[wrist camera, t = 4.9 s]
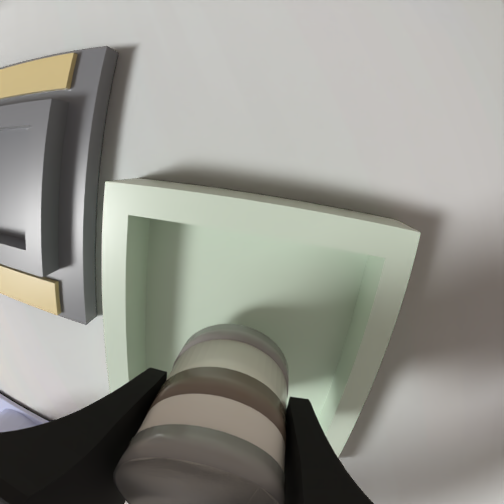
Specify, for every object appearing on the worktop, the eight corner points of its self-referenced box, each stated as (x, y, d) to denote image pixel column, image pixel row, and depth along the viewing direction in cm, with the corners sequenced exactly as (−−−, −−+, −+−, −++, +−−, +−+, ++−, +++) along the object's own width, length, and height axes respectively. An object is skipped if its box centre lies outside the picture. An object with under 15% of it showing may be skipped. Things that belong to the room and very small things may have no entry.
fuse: (283, 415, 12) (275, 545, 6) (183, 404, 12) (133, 520, 6) (293, 328, 11) (295, 471, 5) (175, 318, 11) (94, 435, 5)
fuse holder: (96, 316, 14) (71, 336, 12) (-23, 273, 15) (-46, 284, 13) (118, 52, 11) (91, 37, 9) (-14, 78, 12) (-40, 74, 9)
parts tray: (316, 459, 15) (318, 493, 12) (136, 423, 16) (120, 452, 13) (396, 219, 11) (420, 232, 9) (137, 178, 12) (105, 181, 10)
